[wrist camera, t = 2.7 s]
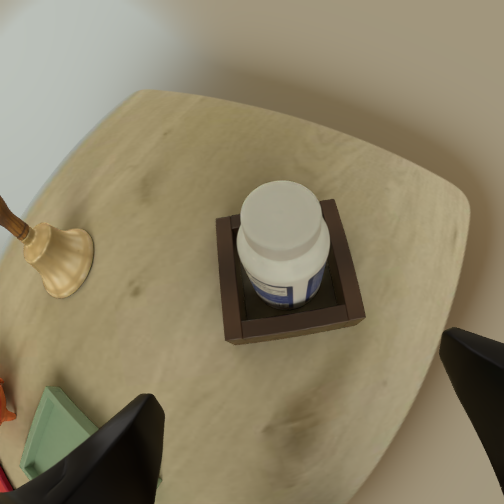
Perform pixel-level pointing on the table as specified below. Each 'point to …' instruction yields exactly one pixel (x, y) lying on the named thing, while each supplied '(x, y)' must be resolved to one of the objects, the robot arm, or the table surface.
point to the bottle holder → (296, 323)
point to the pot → (4, 407)
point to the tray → (54, 432)
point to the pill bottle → (283, 243)
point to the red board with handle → (4, 482)
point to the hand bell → (53, 252)
